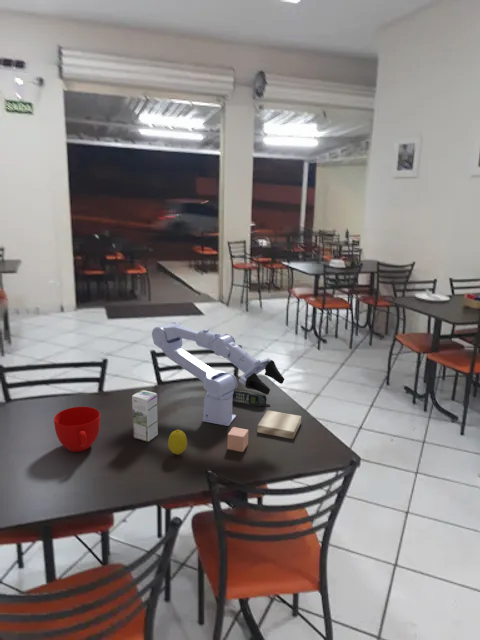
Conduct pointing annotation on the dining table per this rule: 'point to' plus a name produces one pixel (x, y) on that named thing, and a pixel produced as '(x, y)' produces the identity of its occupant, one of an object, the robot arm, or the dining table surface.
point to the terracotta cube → (237, 439)
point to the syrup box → (144, 415)
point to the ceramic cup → (77, 427)
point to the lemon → (177, 442)
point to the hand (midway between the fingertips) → (276, 386)
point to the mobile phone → (249, 398)
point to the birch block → (279, 424)
